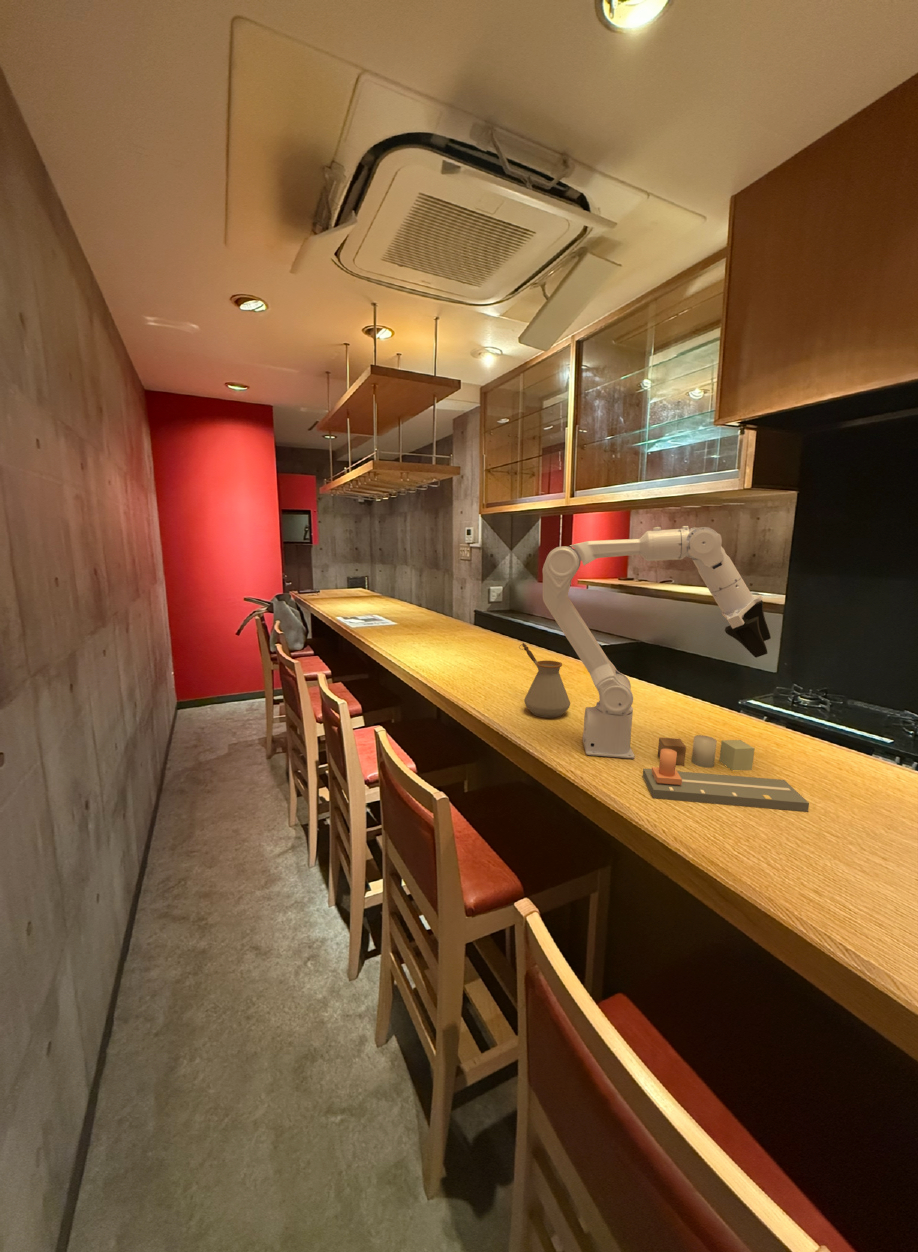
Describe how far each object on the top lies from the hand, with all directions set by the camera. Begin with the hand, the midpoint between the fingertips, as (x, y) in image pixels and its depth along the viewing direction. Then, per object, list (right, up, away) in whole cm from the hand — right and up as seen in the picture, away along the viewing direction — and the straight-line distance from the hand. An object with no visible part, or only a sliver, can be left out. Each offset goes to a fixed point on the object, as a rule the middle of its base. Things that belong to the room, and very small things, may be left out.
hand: (763, 647), depth 91 cm
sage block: (-3, -23, +5) cm, 24 cm away
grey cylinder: (-9, -23, +6) cm, 25 cm away
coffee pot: (-36, -17, +38) cm, 55 cm away
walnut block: (-15, -23, +6) cm, 28 cm away
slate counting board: (-11, -25, -6) cm, 28 cm away
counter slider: (-20, -23, -5) cm, 31 cm away
